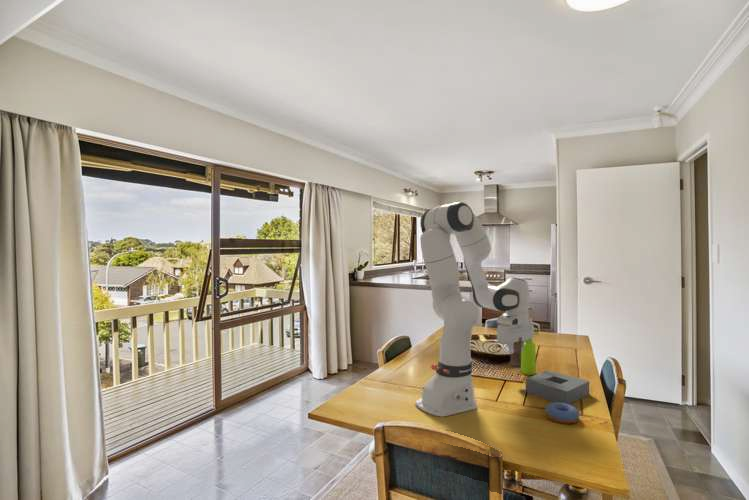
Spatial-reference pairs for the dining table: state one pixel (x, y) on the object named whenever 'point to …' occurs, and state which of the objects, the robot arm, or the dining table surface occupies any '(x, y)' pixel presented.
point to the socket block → (557, 387)
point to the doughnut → (562, 413)
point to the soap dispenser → (528, 358)
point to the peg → (516, 354)
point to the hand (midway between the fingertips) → (515, 352)
